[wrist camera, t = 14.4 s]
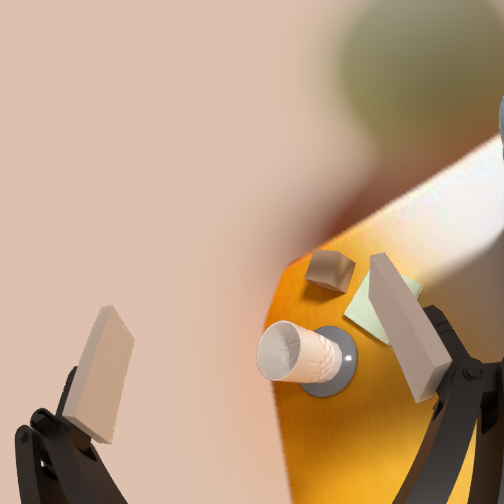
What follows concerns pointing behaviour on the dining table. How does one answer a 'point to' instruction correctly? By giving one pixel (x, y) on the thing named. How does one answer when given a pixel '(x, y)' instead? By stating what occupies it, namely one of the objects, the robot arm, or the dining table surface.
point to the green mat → (365, 313)
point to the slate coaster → (346, 367)
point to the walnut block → (330, 270)
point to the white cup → (297, 354)
